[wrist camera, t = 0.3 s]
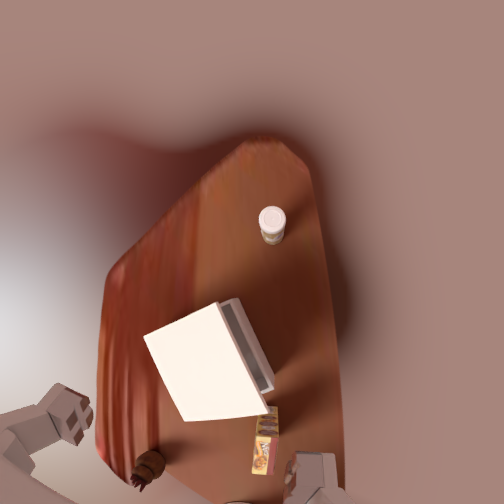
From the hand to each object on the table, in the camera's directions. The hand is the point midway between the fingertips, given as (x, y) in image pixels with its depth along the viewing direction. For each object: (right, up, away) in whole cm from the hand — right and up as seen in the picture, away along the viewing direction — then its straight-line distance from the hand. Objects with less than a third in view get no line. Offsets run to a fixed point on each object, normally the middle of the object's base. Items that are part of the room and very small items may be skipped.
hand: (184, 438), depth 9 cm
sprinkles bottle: (+7, +11, +54) cm, 55 cm away
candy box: (+6, -30, +48) cm, 57 cm away
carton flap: (-6, -12, +36) cm, 39 cm away
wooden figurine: (-21, -44, +49) cm, 69 cm away
